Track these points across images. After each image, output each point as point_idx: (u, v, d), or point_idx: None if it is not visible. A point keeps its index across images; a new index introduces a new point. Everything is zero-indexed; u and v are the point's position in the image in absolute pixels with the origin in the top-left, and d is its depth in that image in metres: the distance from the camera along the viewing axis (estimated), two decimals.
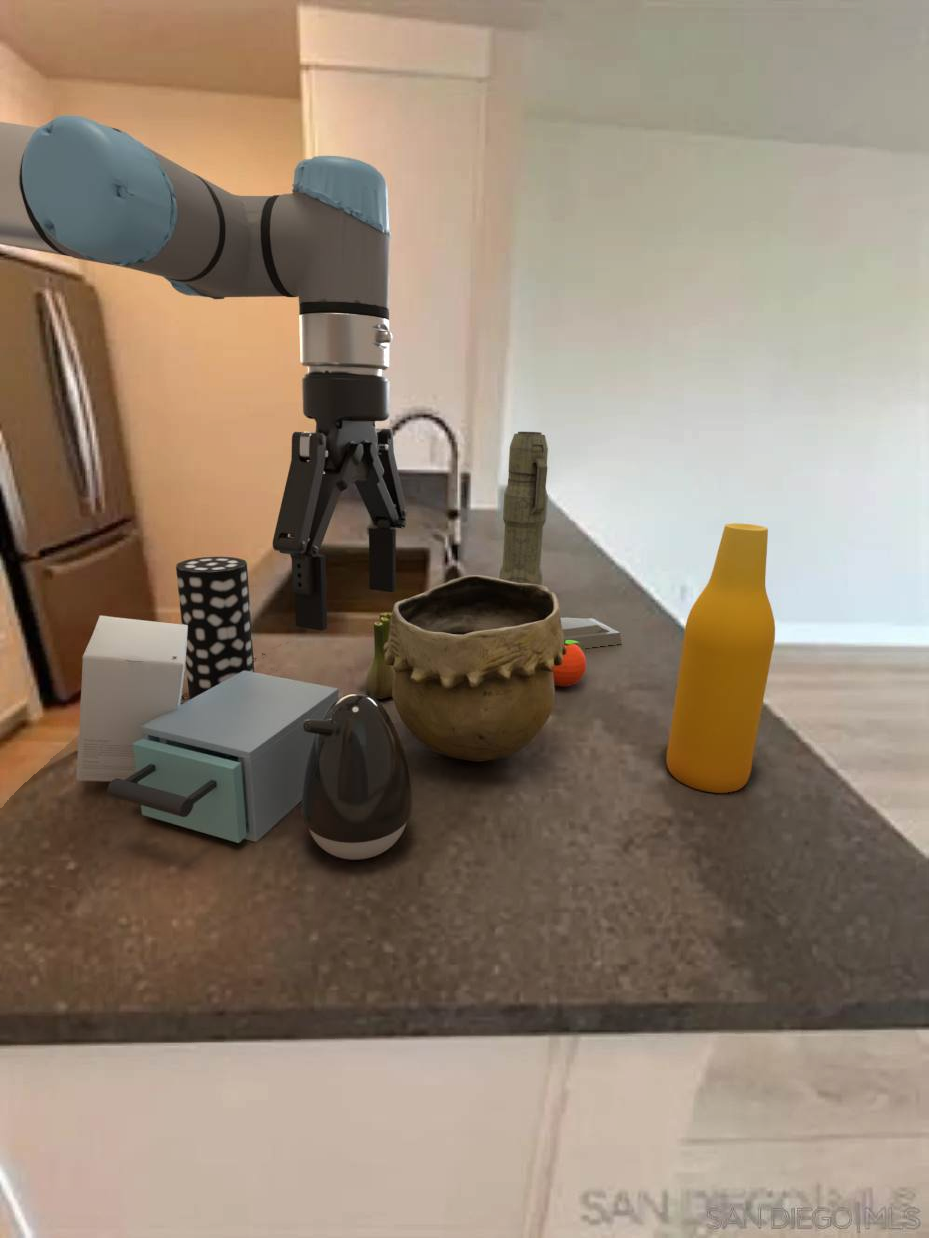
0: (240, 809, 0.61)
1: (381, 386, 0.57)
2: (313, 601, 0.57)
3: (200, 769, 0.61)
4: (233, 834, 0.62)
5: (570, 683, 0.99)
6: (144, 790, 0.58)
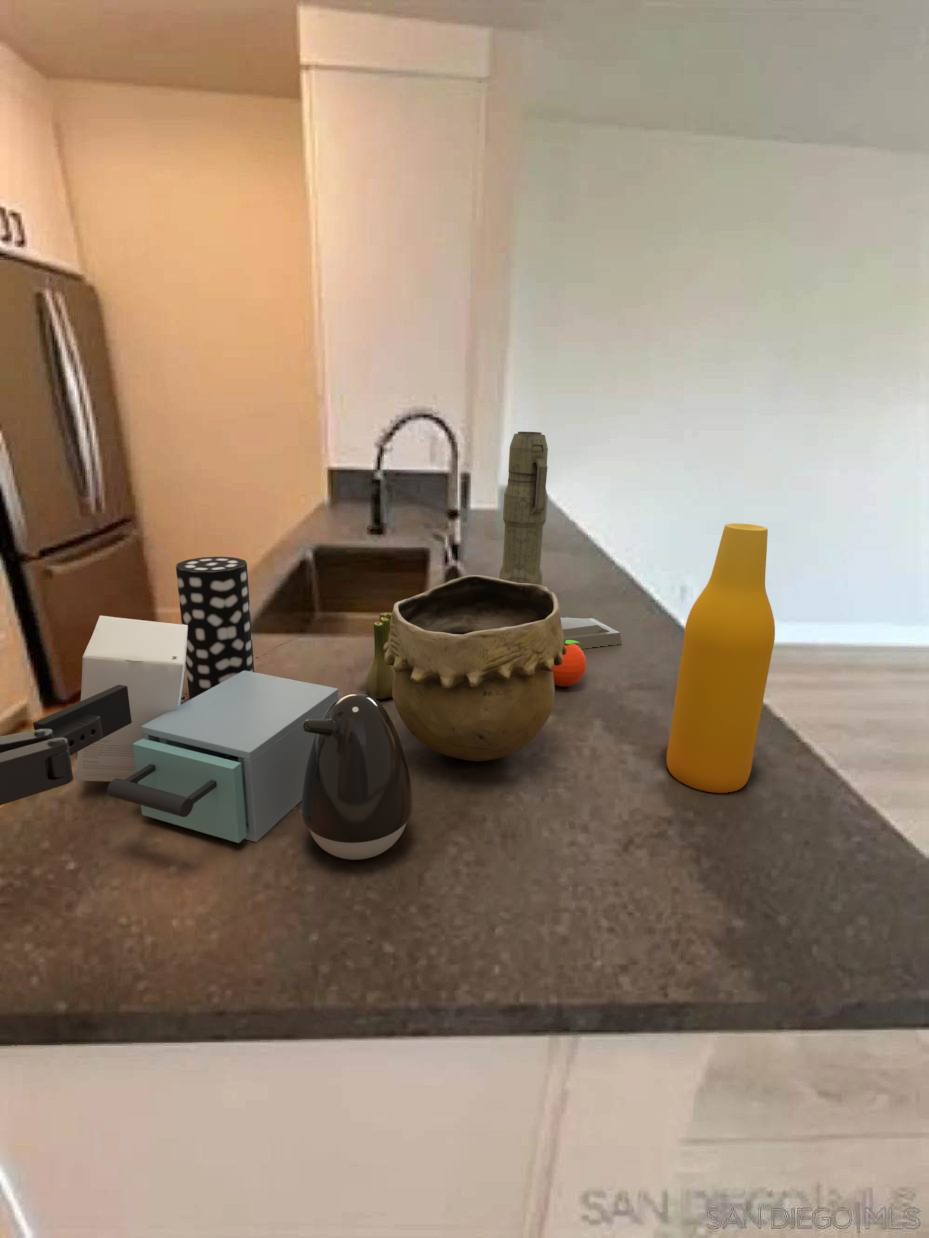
0: (240, 809, 0.61)
1: None
2: None
3: (200, 769, 0.61)
4: (233, 834, 0.62)
5: (570, 683, 0.99)
6: (144, 790, 0.58)
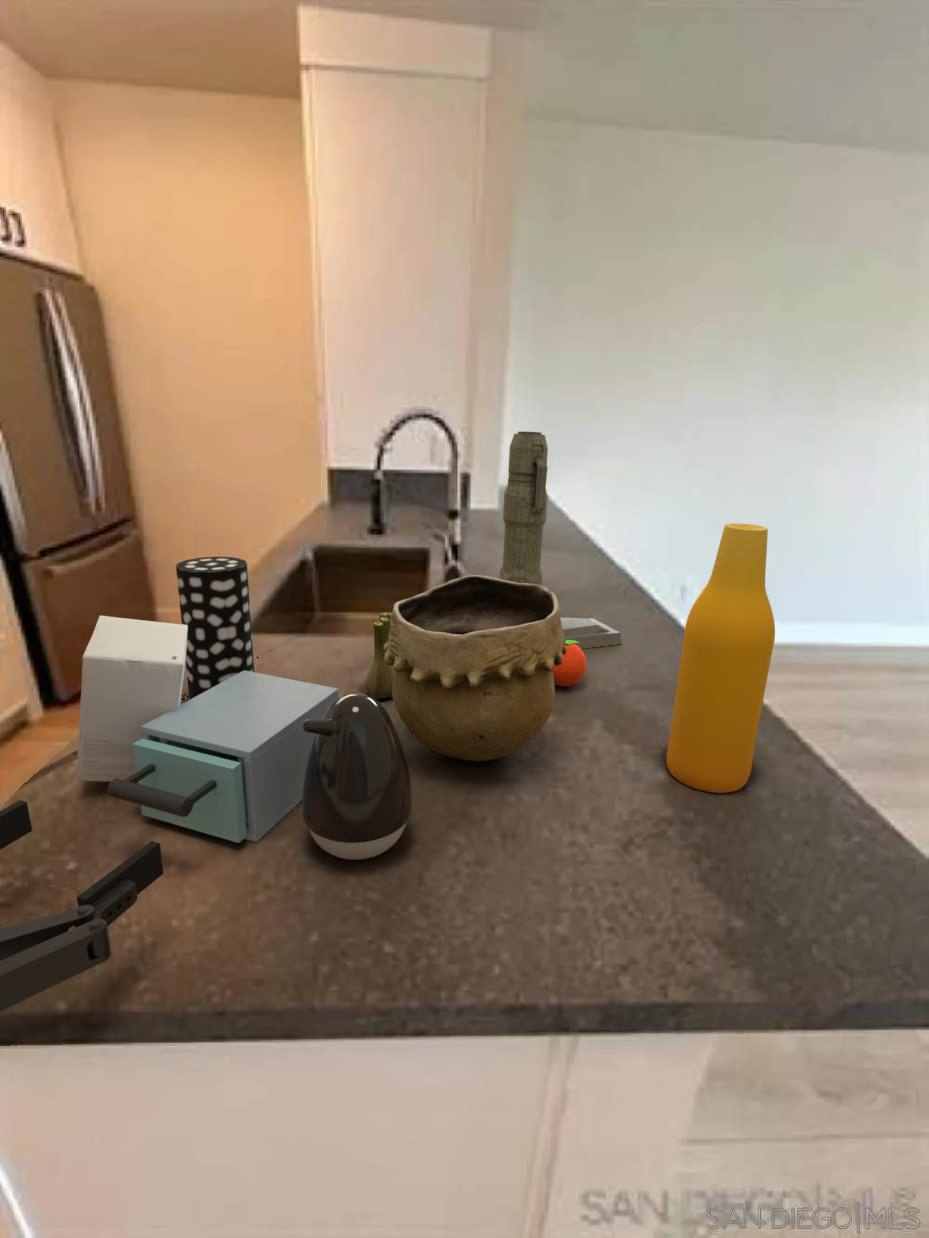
0: (240, 809, 0.61)
1: None
2: None
3: (200, 769, 0.61)
4: (233, 834, 0.62)
5: (570, 683, 0.99)
6: (144, 790, 0.58)
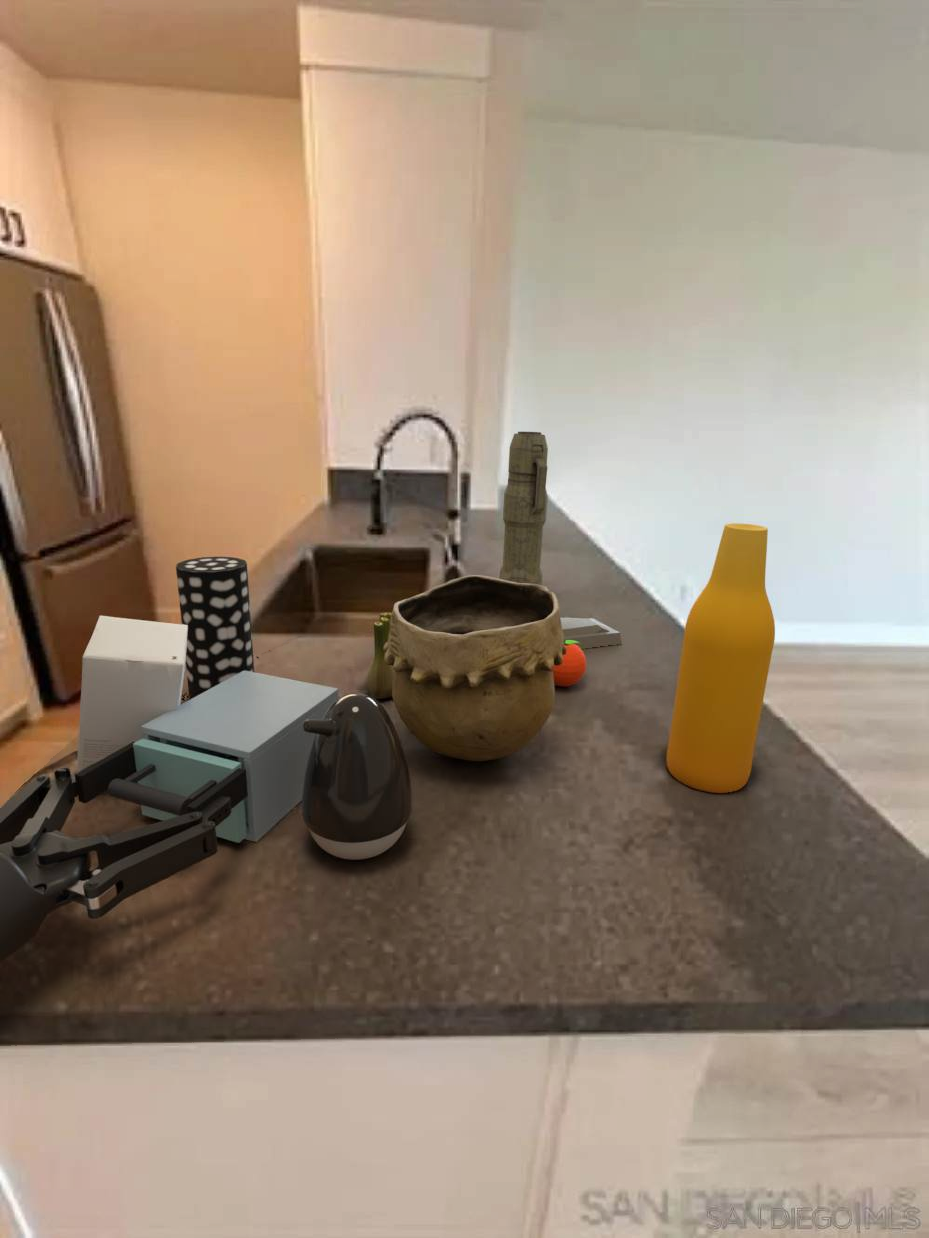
0: (240, 809, 0.61)
1: None
2: None
3: (200, 769, 0.61)
4: (233, 834, 0.62)
5: (570, 683, 0.99)
6: (144, 790, 0.58)
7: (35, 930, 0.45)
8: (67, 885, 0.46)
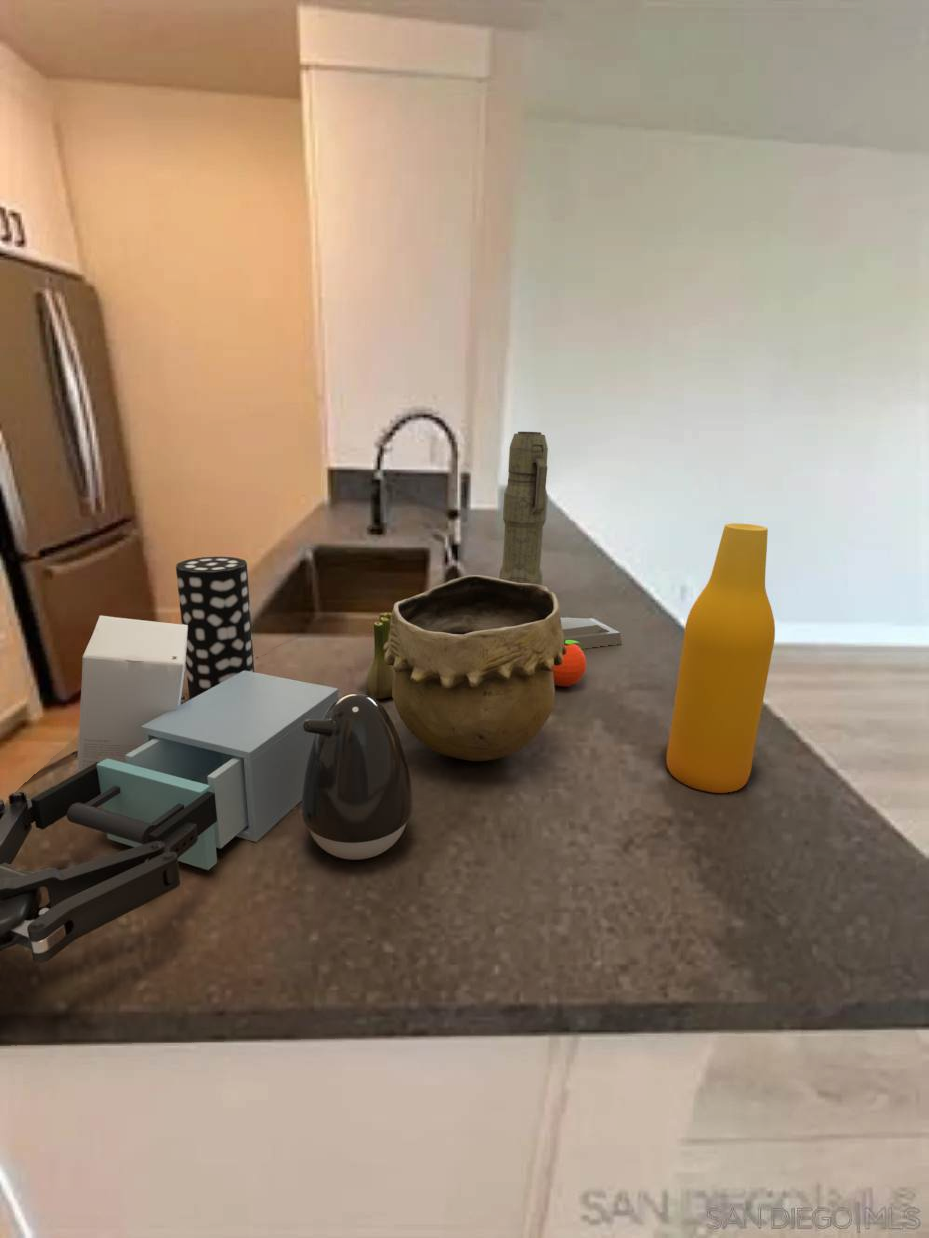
0: (209, 834, 0.58)
1: None
2: None
3: (167, 792, 0.57)
4: (202, 861, 0.58)
5: (570, 683, 0.99)
6: (105, 816, 0.54)
7: None
8: (11, 926, 0.43)
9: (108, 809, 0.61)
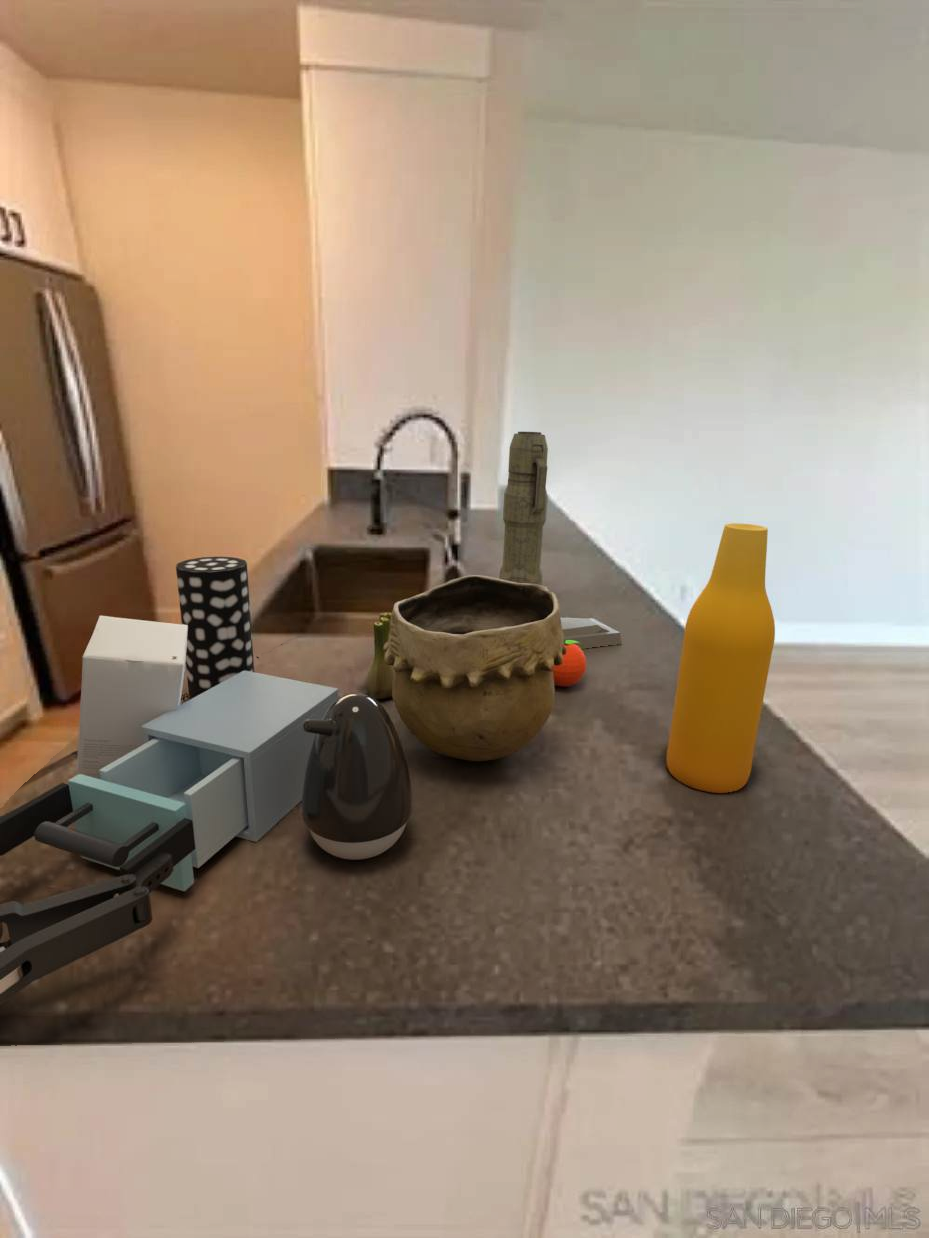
0: None
1: None
2: None
3: (140, 810, 0.55)
4: (178, 882, 0.56)
5: (570, 683, 0.99)
6: (74, 836, 0.52)
7: None
8: None
9: (81, 827, 0.58)
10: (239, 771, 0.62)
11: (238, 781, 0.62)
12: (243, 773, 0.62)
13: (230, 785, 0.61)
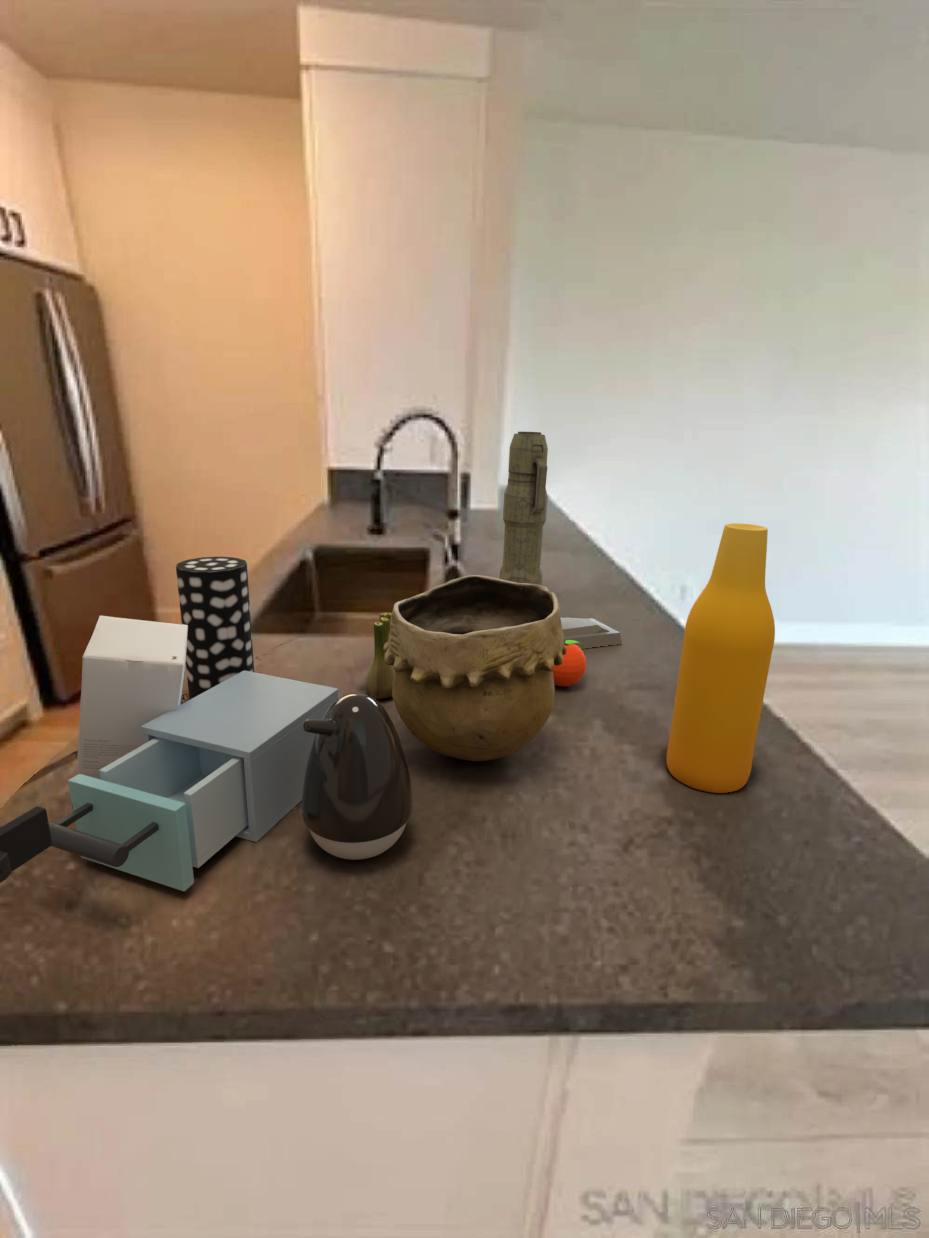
0: (185, 854, 0.55)
1: None
2: None
3: (140, 810, 0.55)
4: (178, 882, 0.56)
5: (570, 683, 0.99)
6: (74, 836, 0.52)
7: None
8: None
9: (81, 827, 0.58)
10: (239, 771, 0.62)
11: (238, 781, 0.62)
12: (243, 773, 0.62)
13: (230, 785, 0.61)
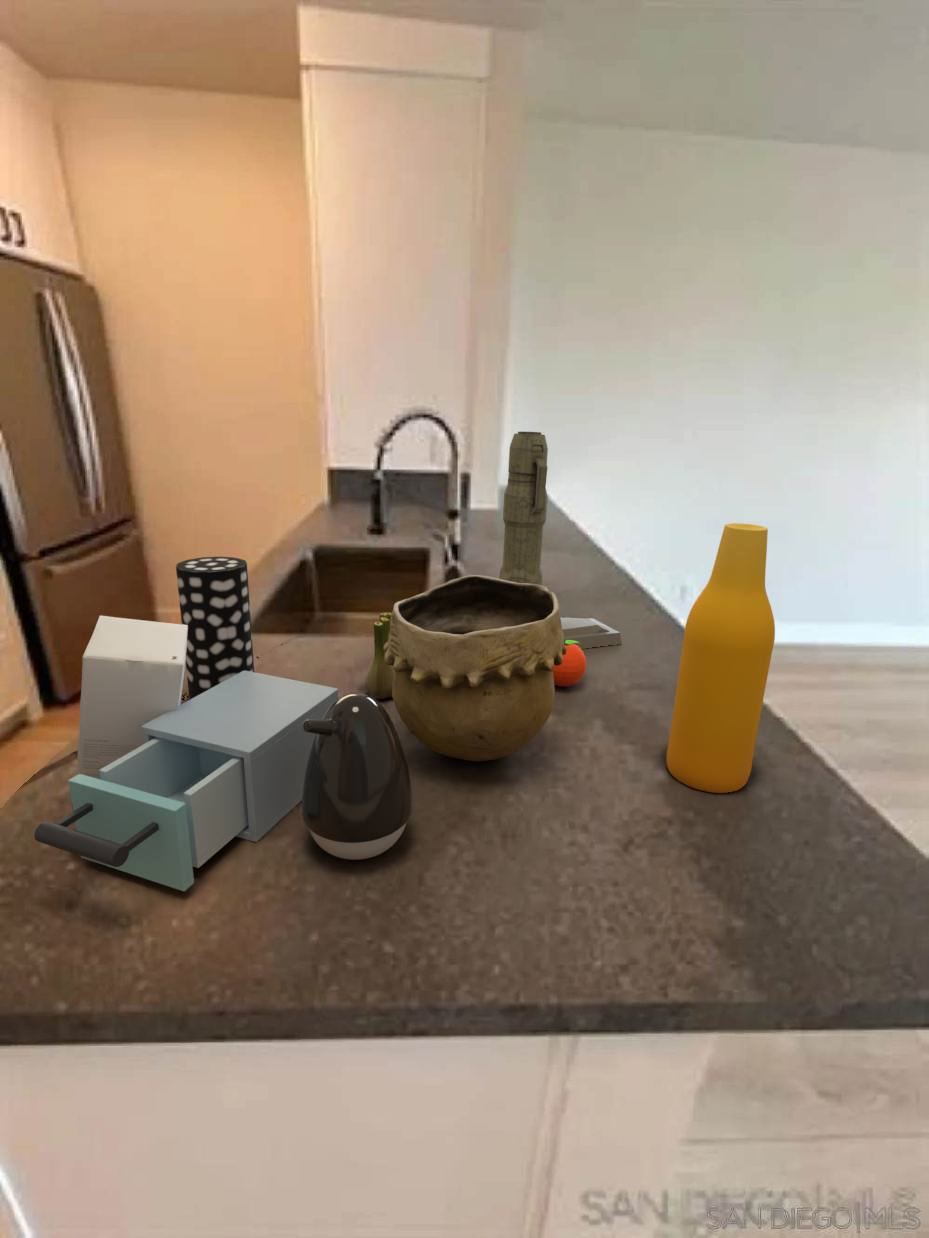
0: (185, 854, 0.55)
1: None
2: None
3: (140, 810, 0.55)
4: (178, 882, 0.56)
5: (570, 683, 0.99)
6: (74, 836, 0.52)
7: None
8: None
9: (81, 827, 0.58)
10: (239, 771, 0.62)
11: (238, 781, 0.62)
12: (243, 773, 0.62)
13: (230, 785, 0.61)
